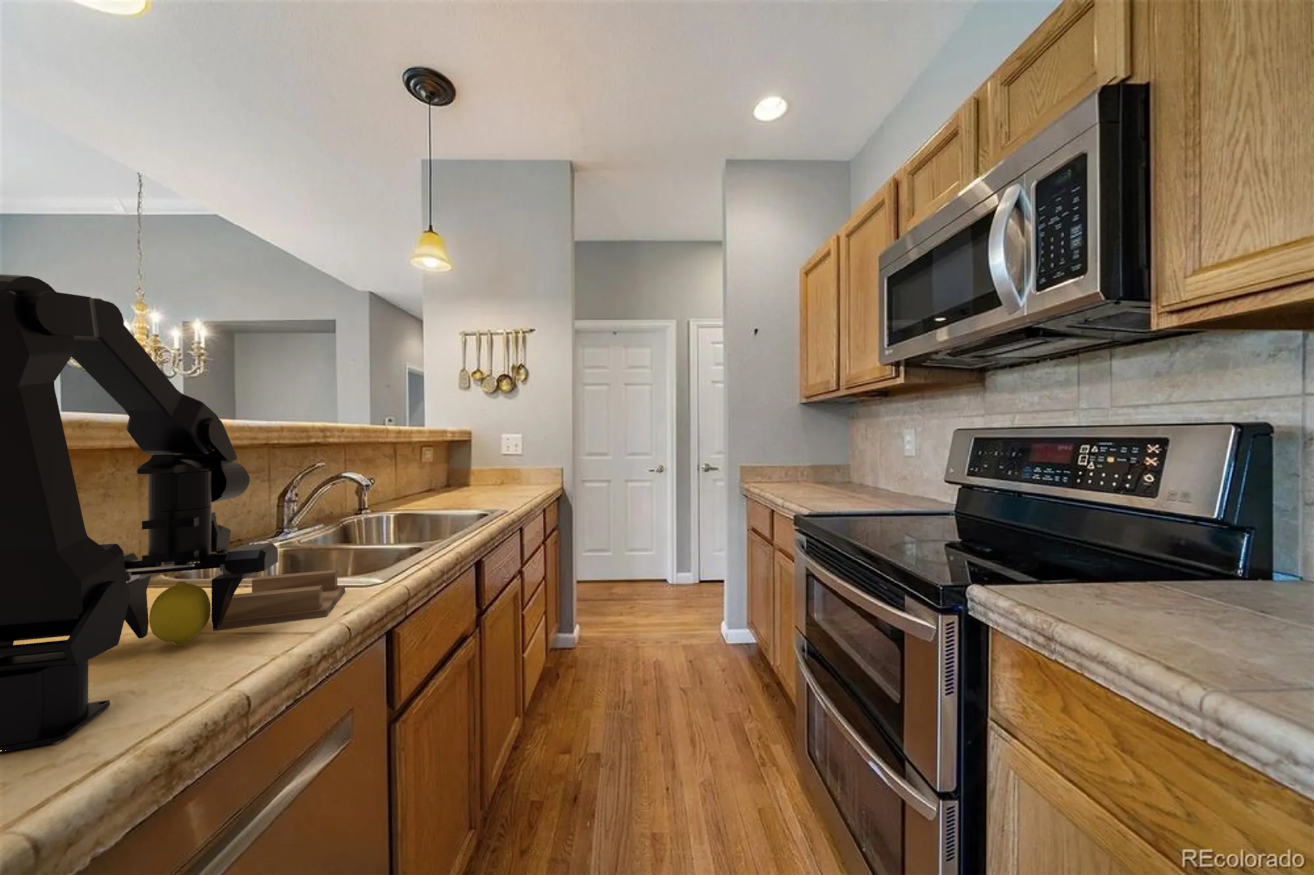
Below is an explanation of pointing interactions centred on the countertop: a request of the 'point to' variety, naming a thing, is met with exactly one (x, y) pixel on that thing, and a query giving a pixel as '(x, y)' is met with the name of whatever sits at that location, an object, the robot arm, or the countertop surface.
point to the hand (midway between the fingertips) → (180, 632)
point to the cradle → (284, 599)
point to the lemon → (180, 613)
